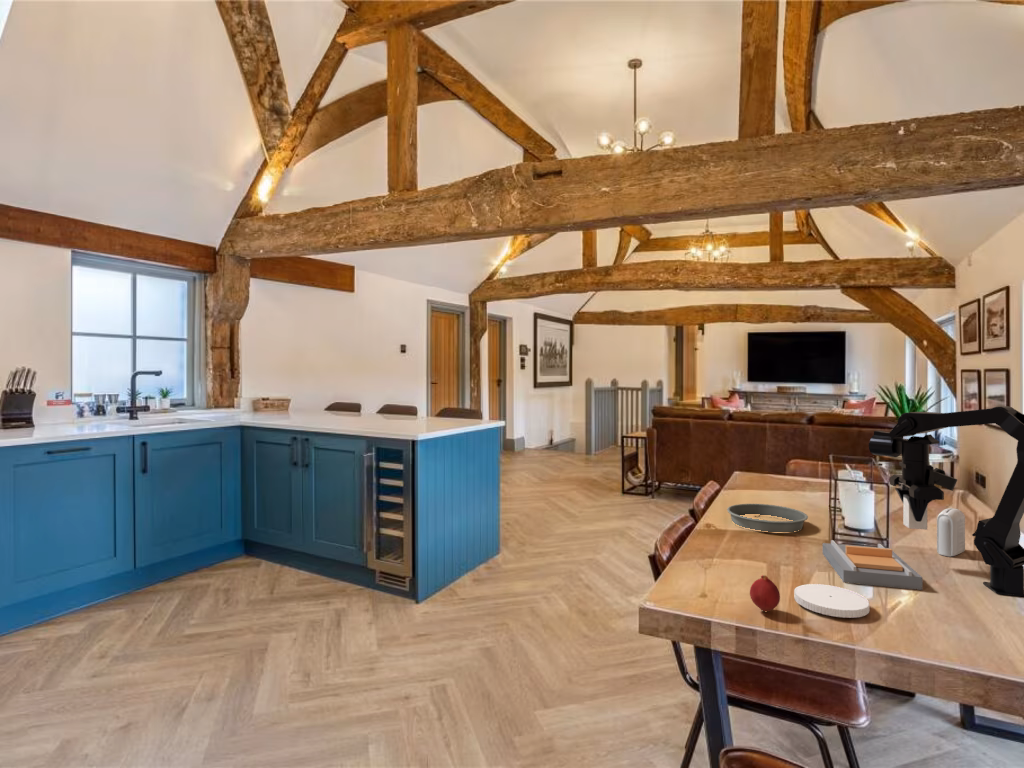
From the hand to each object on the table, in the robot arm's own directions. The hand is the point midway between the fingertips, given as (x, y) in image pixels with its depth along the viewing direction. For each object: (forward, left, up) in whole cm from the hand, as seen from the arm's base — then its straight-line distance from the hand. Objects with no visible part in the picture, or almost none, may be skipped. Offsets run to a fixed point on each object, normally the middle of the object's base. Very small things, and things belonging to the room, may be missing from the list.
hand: (915, 519), depth 140 cm
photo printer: (+14, -13, -12) cm, 23 cm away
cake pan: (+31, +32, -13) cm, 46 cm away
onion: (-42, +41, -12) cm, 60 cm away
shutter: (-12, +13, -9) cm, 20 cm away
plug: (0, 0, -2) cm, 2 cm away
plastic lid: (-35, +27, -13) cm, 46 cm away
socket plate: (-8, +13, -12) cm, 19 cm away
